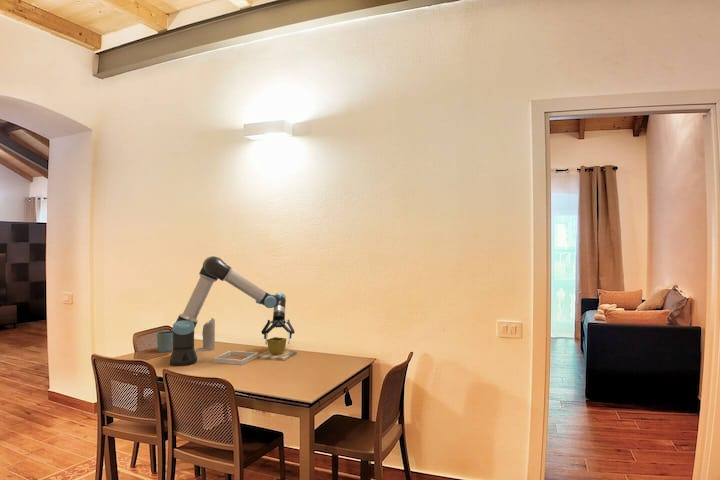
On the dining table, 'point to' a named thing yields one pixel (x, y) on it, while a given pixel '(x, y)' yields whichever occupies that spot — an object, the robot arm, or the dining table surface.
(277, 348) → the flower pot
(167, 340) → the drinking glass
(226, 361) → the grey square frame
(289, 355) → the slatted trivet
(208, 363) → the dining table surface
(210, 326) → the grey upright panel
